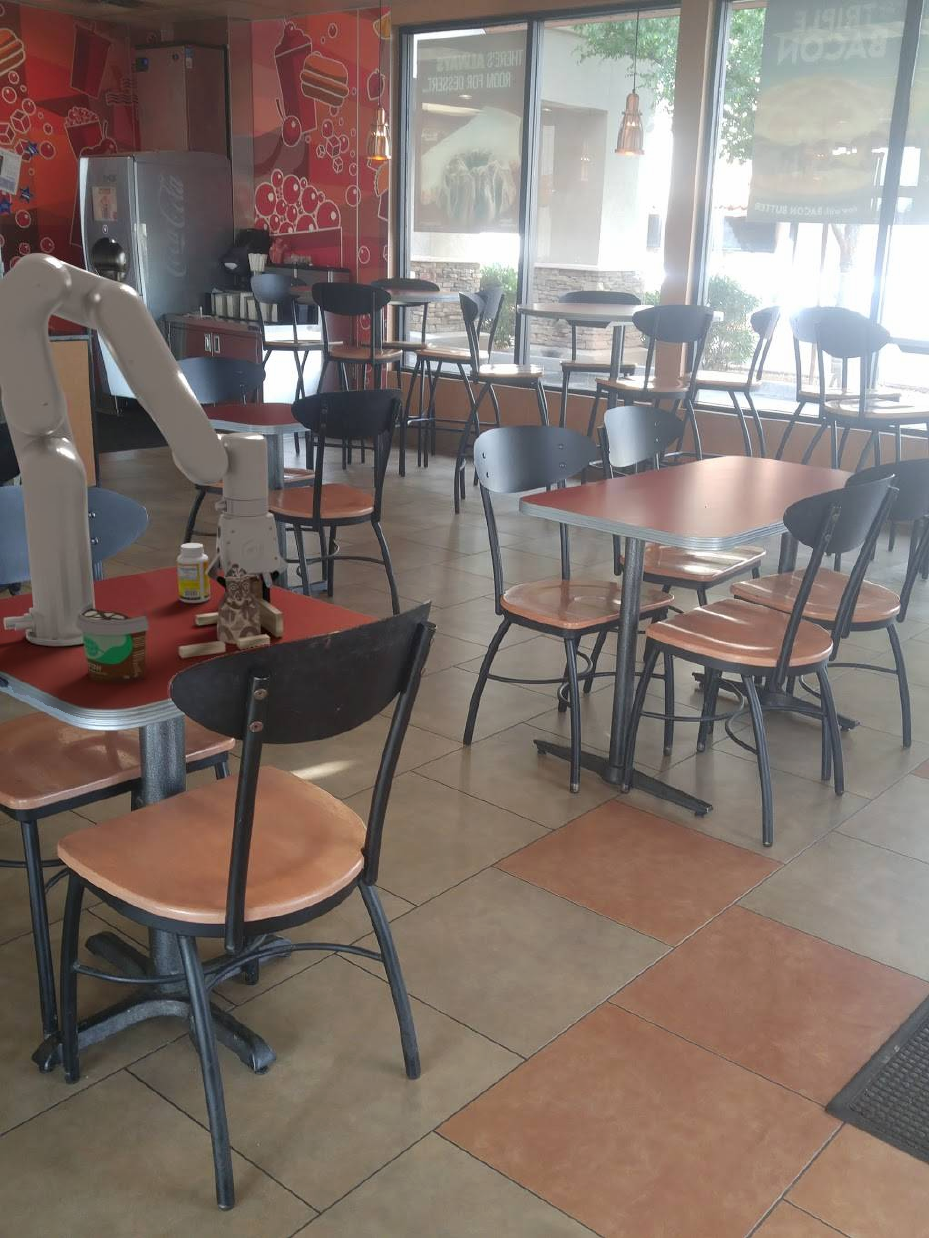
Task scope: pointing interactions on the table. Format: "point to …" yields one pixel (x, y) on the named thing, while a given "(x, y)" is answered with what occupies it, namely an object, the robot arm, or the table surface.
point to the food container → (113, 645)
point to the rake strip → (267, 612)
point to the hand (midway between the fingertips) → (248, 608)
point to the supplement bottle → (193, 574)
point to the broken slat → (222, 646)
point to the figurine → (237, 608)
